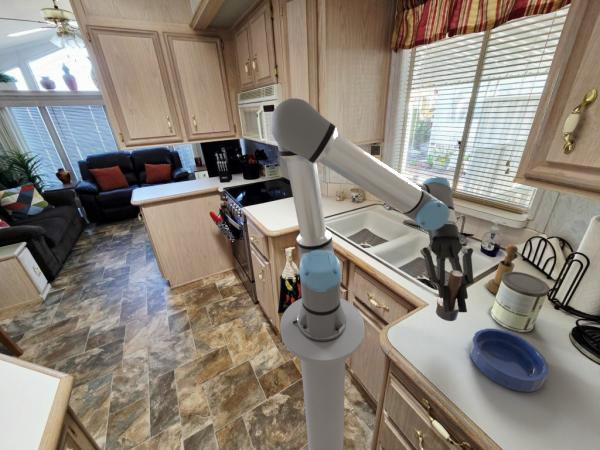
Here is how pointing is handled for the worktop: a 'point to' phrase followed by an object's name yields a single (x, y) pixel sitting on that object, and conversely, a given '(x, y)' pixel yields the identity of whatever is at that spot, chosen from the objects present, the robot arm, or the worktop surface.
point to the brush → (454, 286)
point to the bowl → (508, 360)
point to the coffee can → (519, 301)
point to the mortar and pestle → (503, 269)
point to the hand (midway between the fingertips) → (455, 311)
